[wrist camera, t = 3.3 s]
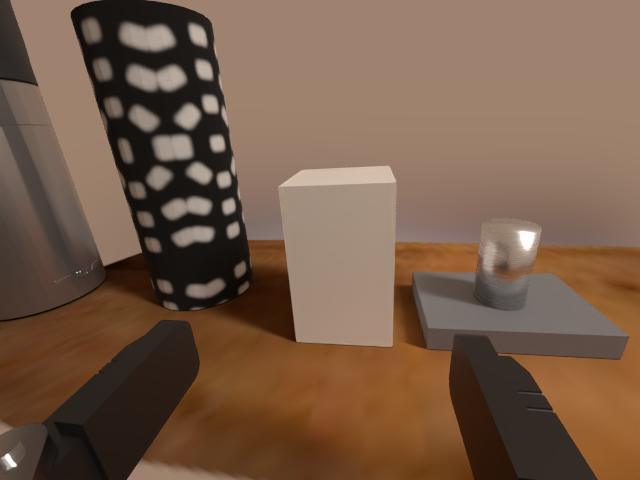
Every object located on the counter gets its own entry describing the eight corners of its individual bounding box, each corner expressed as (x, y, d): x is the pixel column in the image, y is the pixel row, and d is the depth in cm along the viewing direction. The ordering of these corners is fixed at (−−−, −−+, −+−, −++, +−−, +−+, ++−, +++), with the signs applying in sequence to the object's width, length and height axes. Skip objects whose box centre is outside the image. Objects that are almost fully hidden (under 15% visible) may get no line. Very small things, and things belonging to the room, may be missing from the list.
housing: (296, 342, 19) (278, 186, 16) (312, 292, 25) (302, 169, 21) (392, 347, 18) (396, 182, 15) (387, 294, 24) (389, 165, 20)
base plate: (426, 348, 18) (434, 248, 15) (411, 288, 24) (415, 211, 22) (620, 359, 16) (662, 248, 14) (549, 291, 23) (568, 207, 20)
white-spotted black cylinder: (204, 261, 32) (155, 46, 25) (270, 269, 29) (236, 27, 22) (134, 301, 25) (39, 19, 18) (211, 319, 22) (133, -15, 15)
